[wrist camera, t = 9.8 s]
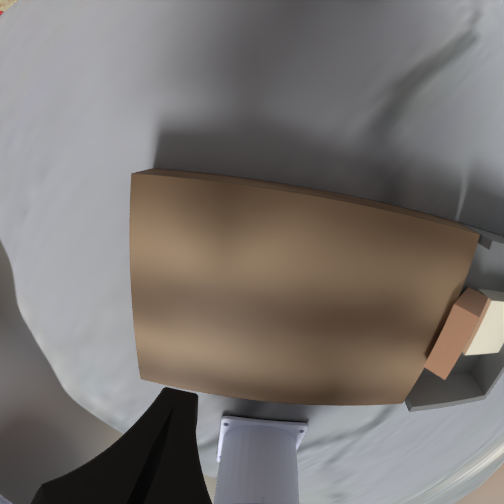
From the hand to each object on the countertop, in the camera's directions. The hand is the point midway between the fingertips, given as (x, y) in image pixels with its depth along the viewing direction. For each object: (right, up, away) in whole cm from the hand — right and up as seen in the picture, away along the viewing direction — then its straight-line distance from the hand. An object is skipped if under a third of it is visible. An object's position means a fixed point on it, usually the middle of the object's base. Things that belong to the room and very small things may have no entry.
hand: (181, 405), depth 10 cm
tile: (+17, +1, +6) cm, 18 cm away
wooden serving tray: (+6, +3, +8) cm, 11 cm away
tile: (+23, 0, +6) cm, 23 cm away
